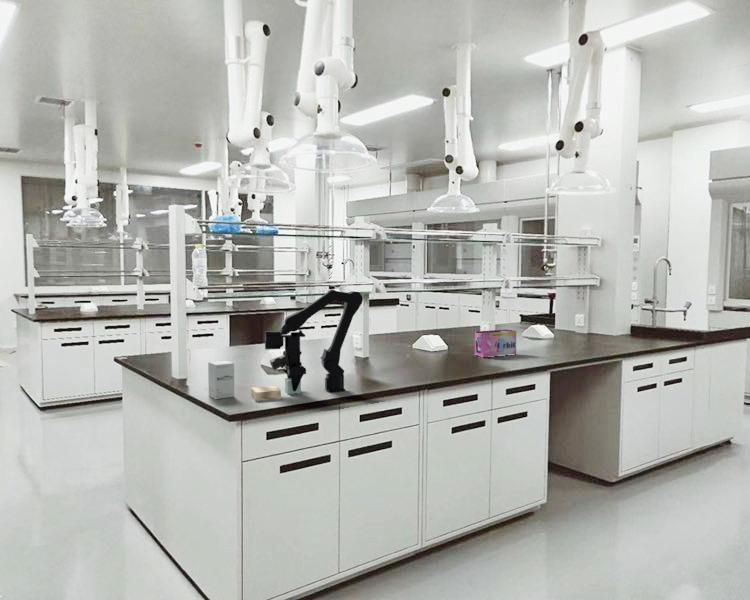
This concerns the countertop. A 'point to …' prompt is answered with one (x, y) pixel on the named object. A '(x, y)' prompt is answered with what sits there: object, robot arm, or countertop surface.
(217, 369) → the supplement box
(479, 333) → the gum box
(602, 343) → the countertop surface
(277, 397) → the beech block
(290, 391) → the teal cube
